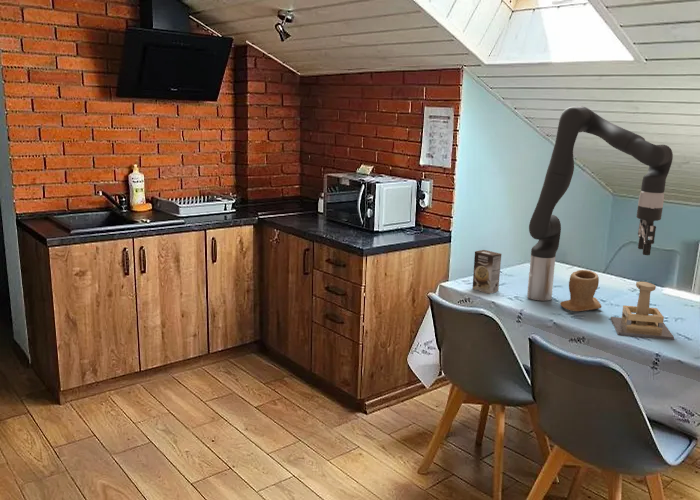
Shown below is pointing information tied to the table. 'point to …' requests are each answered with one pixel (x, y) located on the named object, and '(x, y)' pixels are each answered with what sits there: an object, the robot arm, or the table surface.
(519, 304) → the table surface
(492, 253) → the coffee box
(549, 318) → the table surface
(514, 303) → the table surface
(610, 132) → the robot arm
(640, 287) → the handle
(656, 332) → the collar stand
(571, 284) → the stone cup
